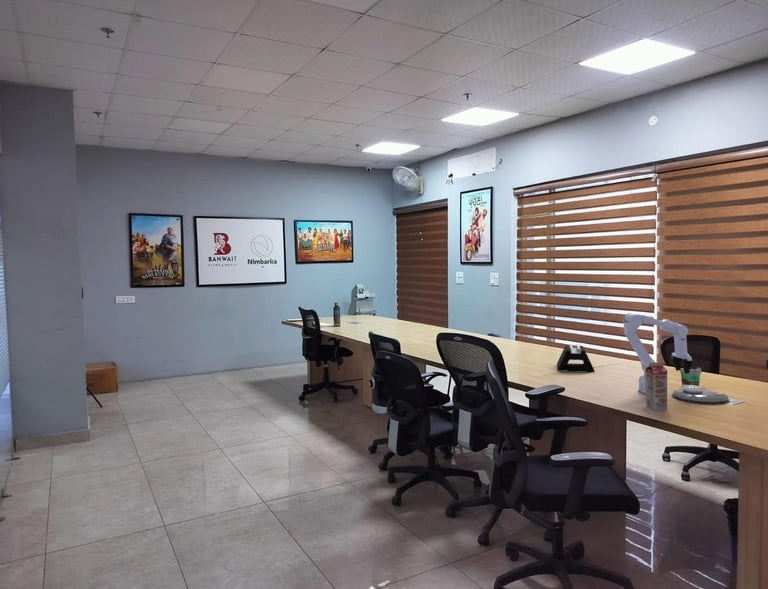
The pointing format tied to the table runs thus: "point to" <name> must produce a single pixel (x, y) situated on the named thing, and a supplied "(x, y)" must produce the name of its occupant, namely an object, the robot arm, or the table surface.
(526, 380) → the table surface
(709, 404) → the turntable base
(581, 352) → the device stand
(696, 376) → the food container
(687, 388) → the cover
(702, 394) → the turntable
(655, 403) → the juice carton
